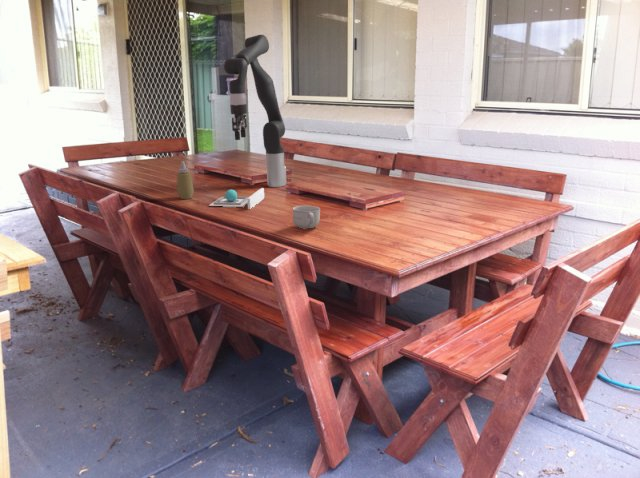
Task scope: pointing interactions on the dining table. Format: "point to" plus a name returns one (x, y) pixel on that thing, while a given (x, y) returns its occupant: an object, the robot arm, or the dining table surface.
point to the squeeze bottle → (184, 183)
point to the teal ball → (231, 195)
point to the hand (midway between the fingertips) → (240, 138)
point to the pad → (230, 202)
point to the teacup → (306, 216)
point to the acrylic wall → (255, 198)
